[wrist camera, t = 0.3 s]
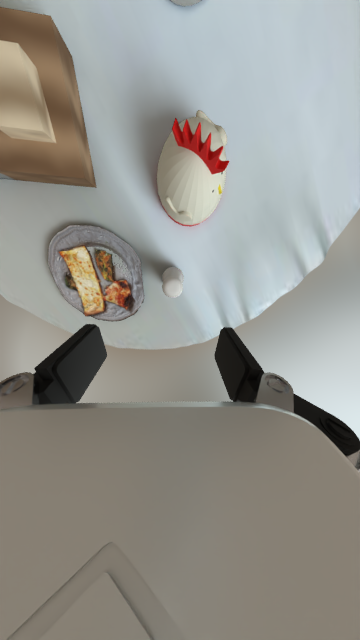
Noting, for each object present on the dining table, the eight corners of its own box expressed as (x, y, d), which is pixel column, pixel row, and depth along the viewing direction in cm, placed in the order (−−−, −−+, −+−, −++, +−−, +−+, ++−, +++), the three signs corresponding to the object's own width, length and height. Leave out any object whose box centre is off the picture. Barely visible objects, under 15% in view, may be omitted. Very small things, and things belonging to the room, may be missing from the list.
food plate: (148, 319, 43) (146, 324, 40) (76, 318, 42) (69, 323, 39) (139, 229, 32) (135, 226, 28) (41, 225, 31) (26, 222, 28)
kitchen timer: (199, 238, 33) (215, 230, 20) (148, 204, 29) (127, 166, 16) (234, 169, 27) (291, 93, 14) (176, 116, 23) (180, -55, 10)
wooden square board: (-41, 38, 19) (-89, -9, 16) (72, 56, 20) (50, 15, 17) (15, 179, 26) (-9, 169, 23) (96, 187, 27) (85, 178, 24)
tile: (-18, 59, 18) (-44, 33, 16) (36, 67, 18) (17, 43, 16) (11, 137, 21) (-7, 125, 19) (56, 143, 22) (43, 131, 19)
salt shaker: (179, 263, 35) (182, 269, 24) (185, 283, 38) (190, 297, 27) (160, 269, 36) (153, 279, 24) (166, 289, 38) (163, 305, 27)
